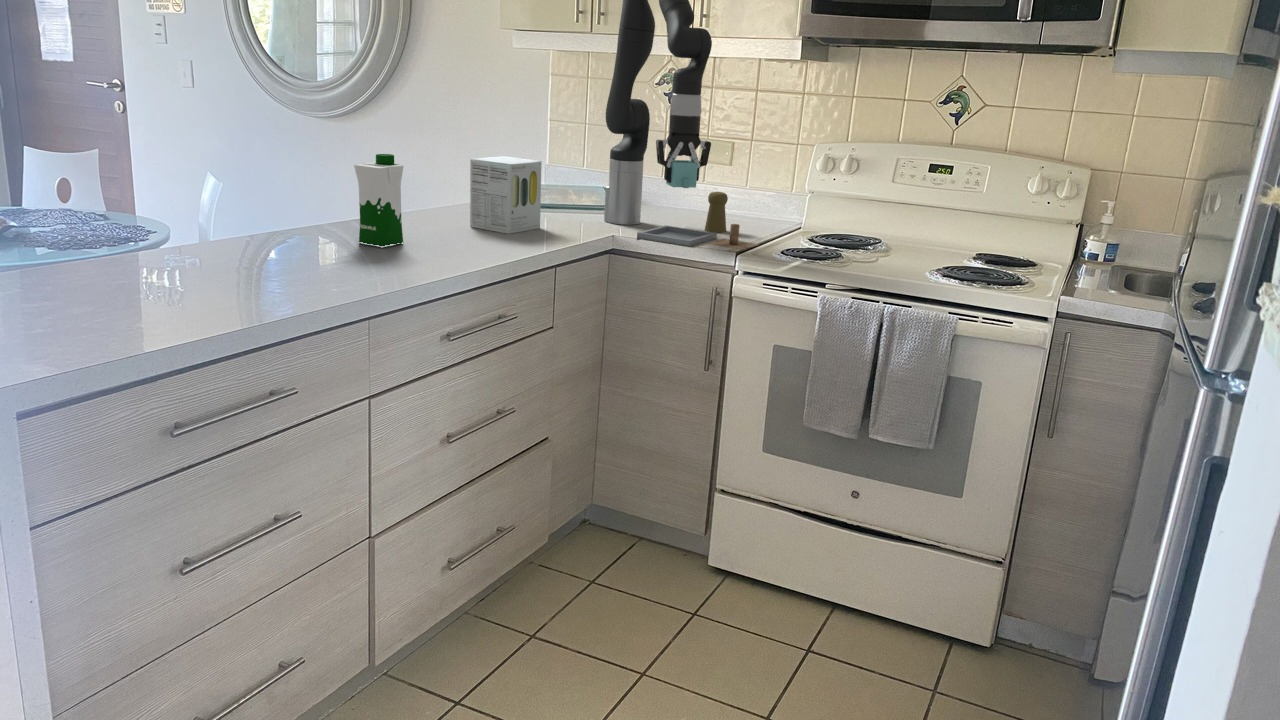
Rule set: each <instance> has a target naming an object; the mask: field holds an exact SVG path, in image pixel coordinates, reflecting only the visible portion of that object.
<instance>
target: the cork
mask: <svg viewBox="0 0 1280 720" xmlns="http://www.w3.org/2000/svg"><path fill="white" fill-rule="evenodd" d="M728 199H729V197H728V194H727V193H725V192H722V191H711V192H709V194H708V198H707V201H708V203H709V207H708V212H707V216H706V221H705V225H704V231H705V232H712V233H717V234H718V233H719V234H721V233H722V234H724V233H727V221H726V220H727V219H726V205H727V203H728Z"/></svg>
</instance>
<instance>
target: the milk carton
mask: <svg viewBox="0 0 1280 720" xmlns="http://www.w3.org/2000/svg"><path fill="white" fill-rule="evenodd" d="M353 166H354V170H355V175H356V178H357V183H358V202H359V203H358V204H359V233H358V234H359V237H358V243H359V242H363V243H367V244H373V245H379V246H385V245H390V244H397V243H402V242H403V243H404V236H403V235H404V234H403V233H404V232H403V224H402V192H401V191H402V188H401V186H402V178H403V172H404V165H402V164H400V163H399V164H397V163H395V154H391V153H390V154H389V153H377V154H375V162H363V163H361V164H359V163H357V164H353Z"/></svg>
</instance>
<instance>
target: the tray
mask: <svg viewBox="0 0 1280 720" xmlns="http://www.w3.org/2000/svg"><path fill="white" fill-rule="evenodd" d="M717 238H718V233H712V232H707V231H705V230H698V229H690V228H684V227H677V226H671V225H663V226H658V227H655V228H650V229H646V230H643V231H642V230H641V231H639V232H637V233H636V241H640V240H645V241H652V242H658V243H664V244H670V245H676V246H682V247H689V248H690V247H694V246H696V245H700V244H703V243H707V242H710V241H711V242H712V241H713V240H714V241H715V240H717Z"/></svg>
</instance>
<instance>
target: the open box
mask: <svg viewBox="0 0 1280 720" xmlns="http://www.w3.org/2000/svg"><path fill="white" fill-rule="evenodd" d="M697 166H698V163H696V162H693V161H691V159H689V160H686V159H685V160H684V159H675V160H674V162H672V166H671V168H672V174H671V183H667V182H666V181H665V182H666V183H665V184H666V185H668V186H670V187H672V188H682V189H689V188H692V189H693V188H694V189H695V188H697V182H698V181H697Z"/></svg>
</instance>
